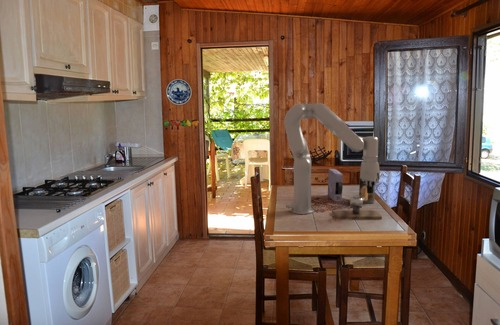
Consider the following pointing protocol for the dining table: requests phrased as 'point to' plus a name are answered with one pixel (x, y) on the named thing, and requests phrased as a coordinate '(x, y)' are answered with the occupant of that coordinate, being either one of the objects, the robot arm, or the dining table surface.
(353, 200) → the twist collar
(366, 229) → the dining table surface
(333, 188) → the cake pan box
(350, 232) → the dining table surface
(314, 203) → the dining table surface
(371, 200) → the coffee box
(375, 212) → the bayonet base
